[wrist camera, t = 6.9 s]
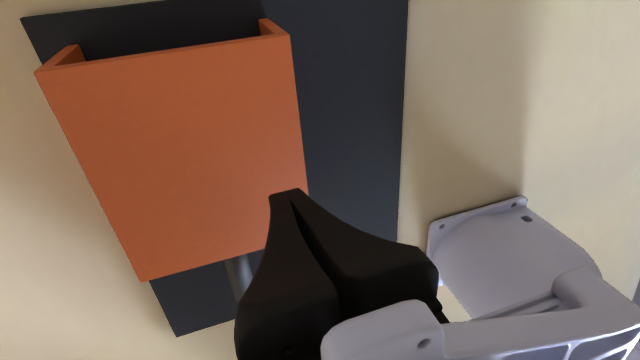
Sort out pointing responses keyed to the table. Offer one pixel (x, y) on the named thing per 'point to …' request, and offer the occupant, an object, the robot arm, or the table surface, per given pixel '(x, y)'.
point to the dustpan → (185, 146)
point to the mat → (312, 96)
